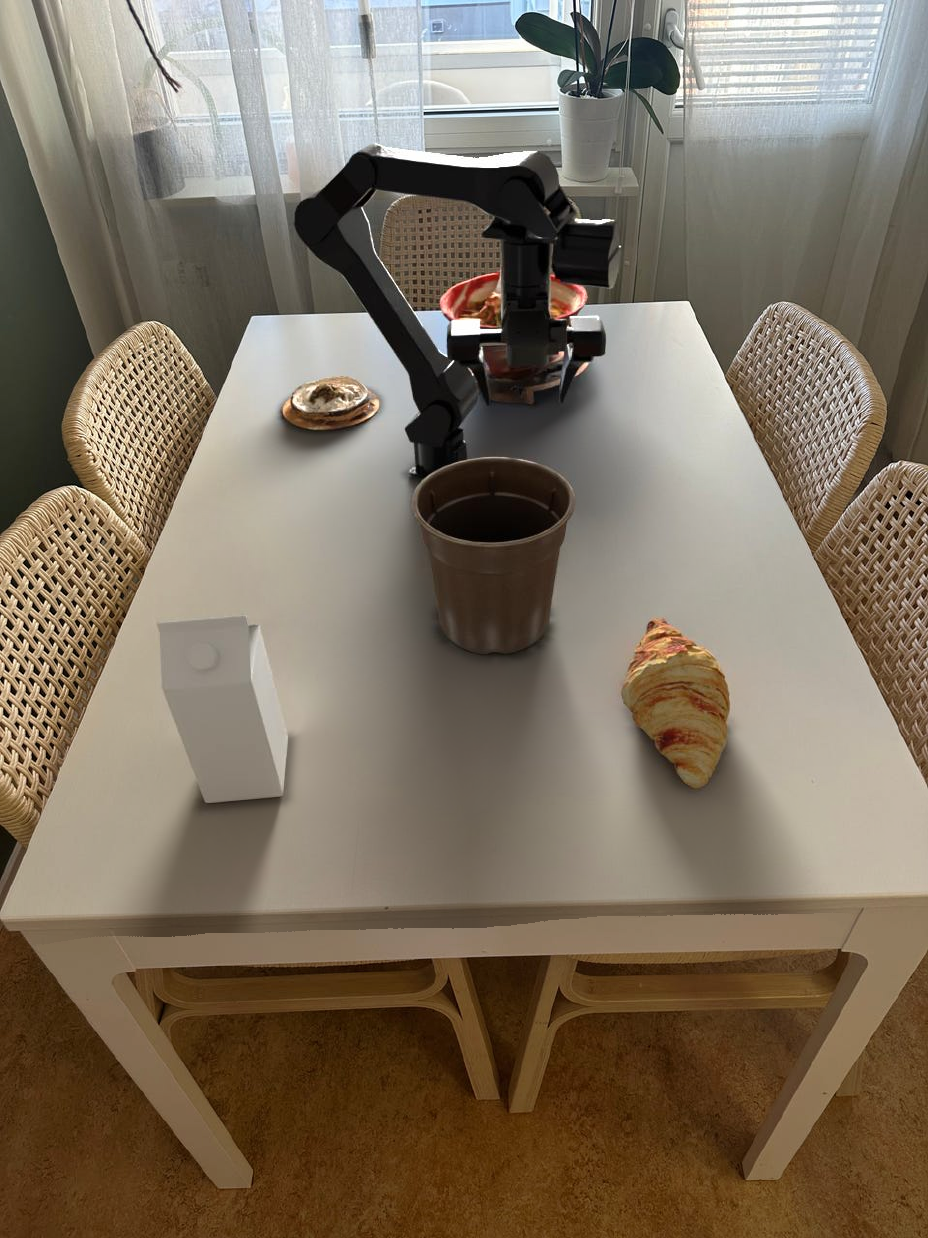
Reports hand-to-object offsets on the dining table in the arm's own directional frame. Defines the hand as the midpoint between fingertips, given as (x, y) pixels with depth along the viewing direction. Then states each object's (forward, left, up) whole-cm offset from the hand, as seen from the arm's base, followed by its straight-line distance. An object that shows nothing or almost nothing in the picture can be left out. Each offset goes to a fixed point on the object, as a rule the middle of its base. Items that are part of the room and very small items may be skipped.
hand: (524, 403), depth 110 cm
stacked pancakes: (-37, +6, -12) cm, 39 cm away
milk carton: (0, -56, -12) cm, 57 cm away
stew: (-18, +32, -12) cm, 39 cm away
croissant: (+32, -30, -12) cm, 46 cm away
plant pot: (+10, -26, -12) cm, 30 cm away
